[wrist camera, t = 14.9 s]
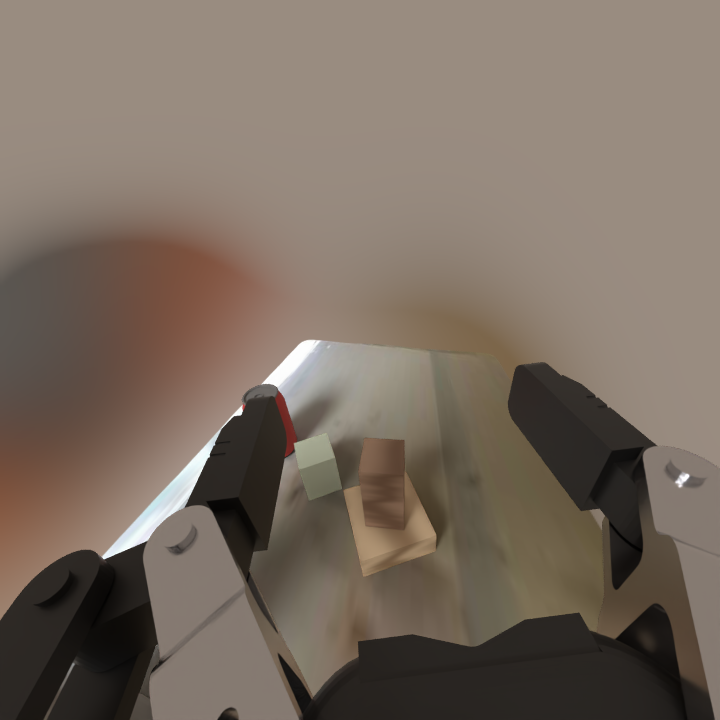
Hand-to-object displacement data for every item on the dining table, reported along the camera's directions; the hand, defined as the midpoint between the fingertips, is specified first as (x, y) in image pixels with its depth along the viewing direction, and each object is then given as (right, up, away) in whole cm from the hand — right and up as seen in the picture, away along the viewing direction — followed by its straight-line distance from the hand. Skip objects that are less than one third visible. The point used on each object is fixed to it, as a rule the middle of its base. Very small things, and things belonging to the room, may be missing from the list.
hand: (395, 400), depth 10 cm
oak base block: (+2, -21, +28) cm, 35 cm away
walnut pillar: (+2, -17, +26) cm, 31 cm away
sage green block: (-7, -17, +35) cm, 39 cm away
